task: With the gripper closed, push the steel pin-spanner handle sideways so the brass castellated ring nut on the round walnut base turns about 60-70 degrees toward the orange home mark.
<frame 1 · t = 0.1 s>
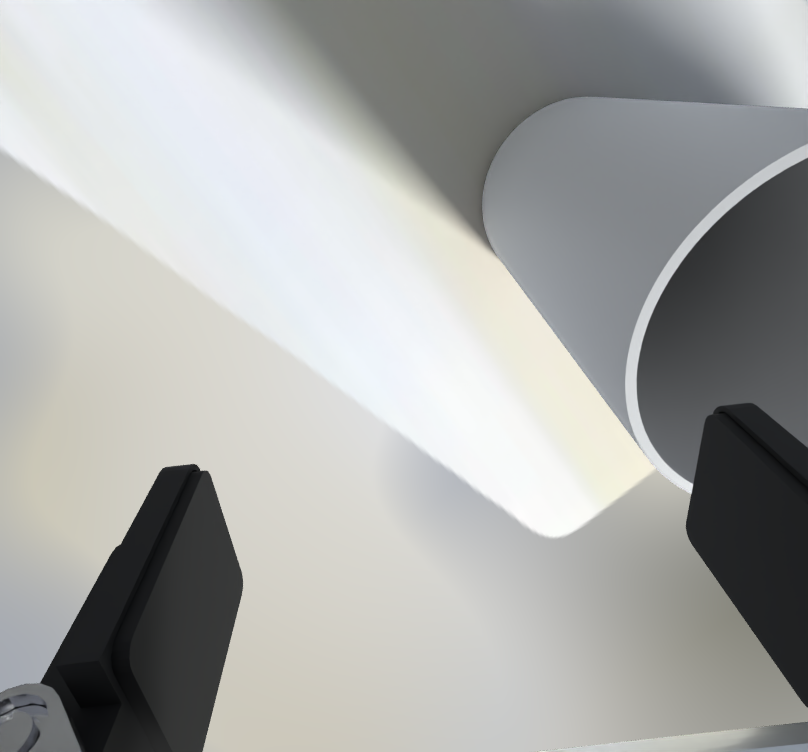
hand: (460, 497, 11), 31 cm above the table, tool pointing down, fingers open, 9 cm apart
cylinder vase: (568, 196, 39), on the table
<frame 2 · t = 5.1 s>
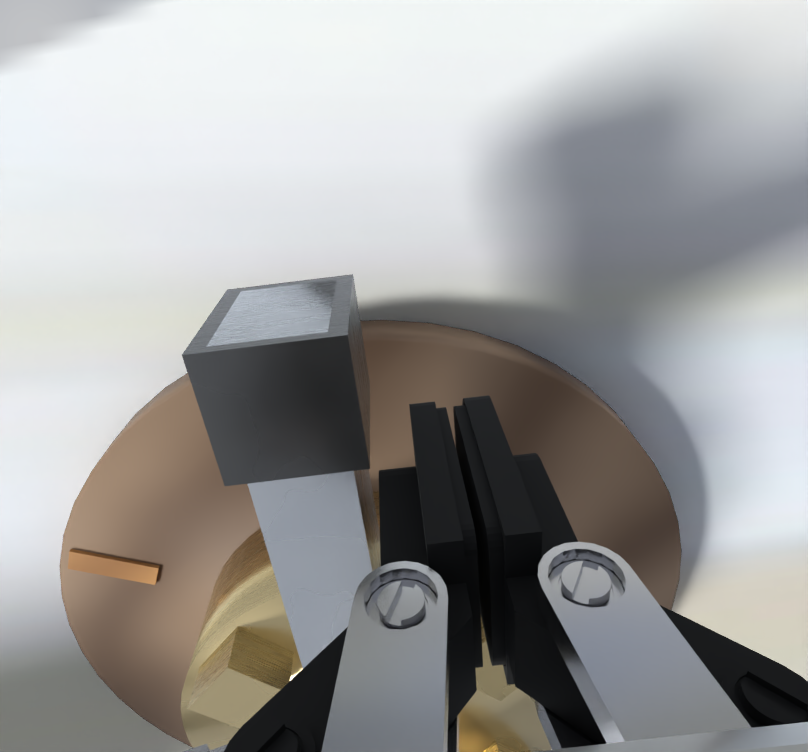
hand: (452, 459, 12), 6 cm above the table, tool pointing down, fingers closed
spanner base: (379, 583, 22), on the table
ring nut: (364, 626, 15), point 5 cm above the table, hinge at 0.0°, touching gripper
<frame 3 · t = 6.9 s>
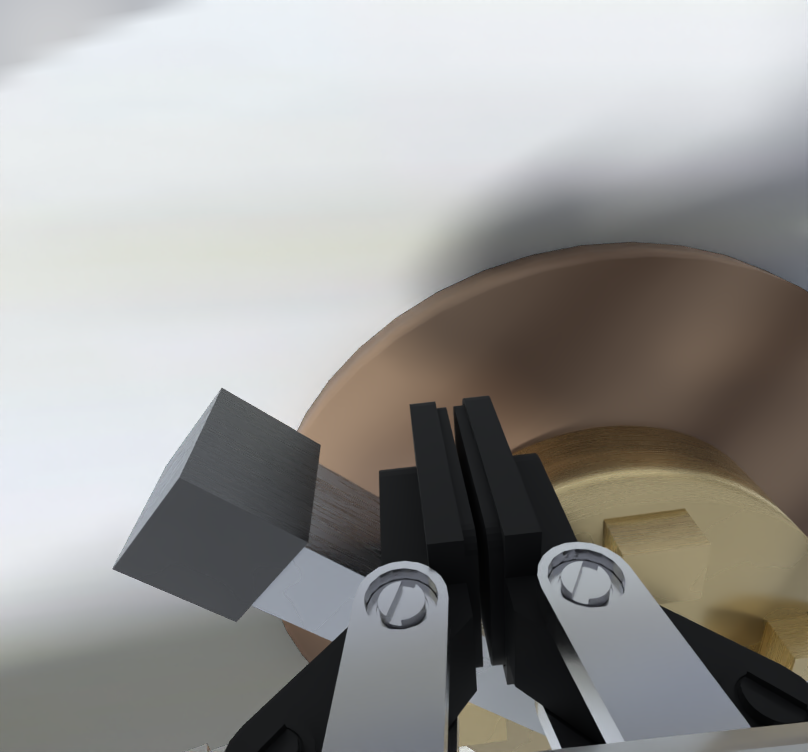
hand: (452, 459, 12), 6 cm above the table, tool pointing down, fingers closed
spanner base: (571, 534, 21), on the table
ring nut: (530, 605, 15), point 5 cm above the table, hinge at 45.5°, touching gripper
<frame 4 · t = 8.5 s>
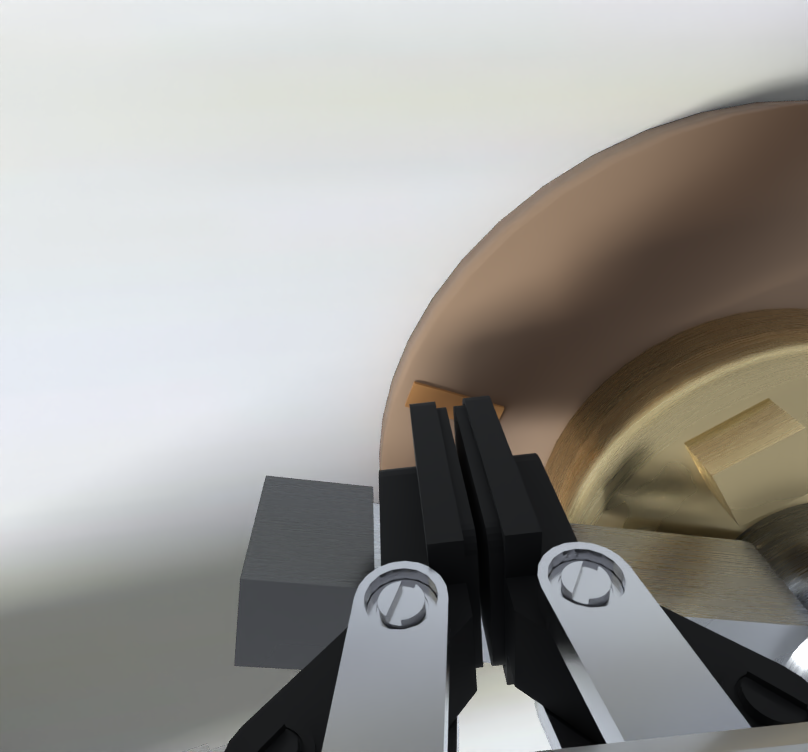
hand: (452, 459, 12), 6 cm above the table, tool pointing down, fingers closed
spanner base: (694, 450, 20), on the table
ring nut: (655, 548, 15), point 5 cm above the table, hinge at 73.9°, touching gripper
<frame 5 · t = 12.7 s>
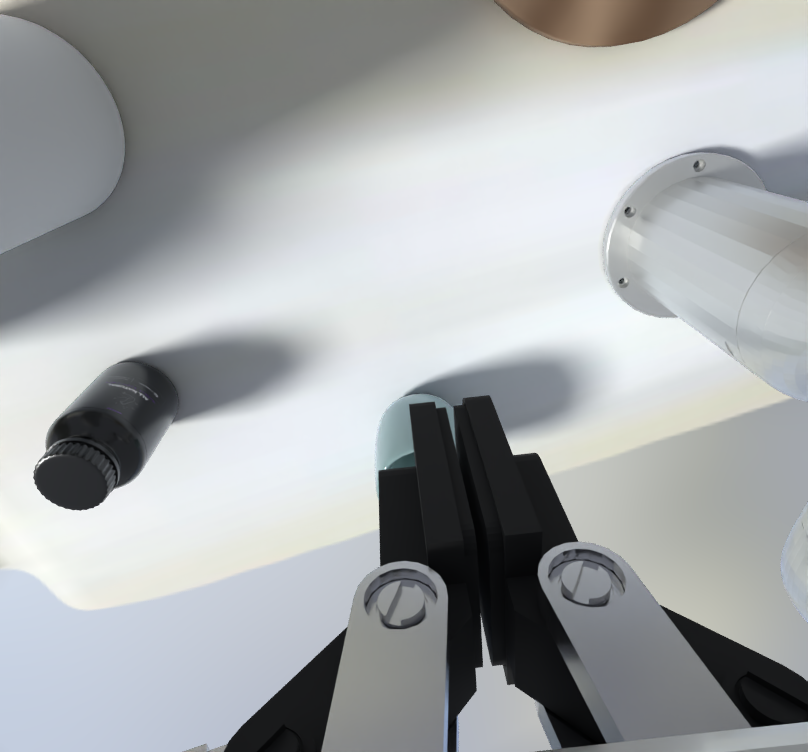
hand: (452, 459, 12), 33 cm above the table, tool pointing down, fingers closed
supplement bottle: (139, 393, 48), on the table
cylinder vase: (34, 125, 38), on the table
cup: (417, 417, 50), on the table
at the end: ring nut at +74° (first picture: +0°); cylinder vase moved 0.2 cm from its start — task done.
